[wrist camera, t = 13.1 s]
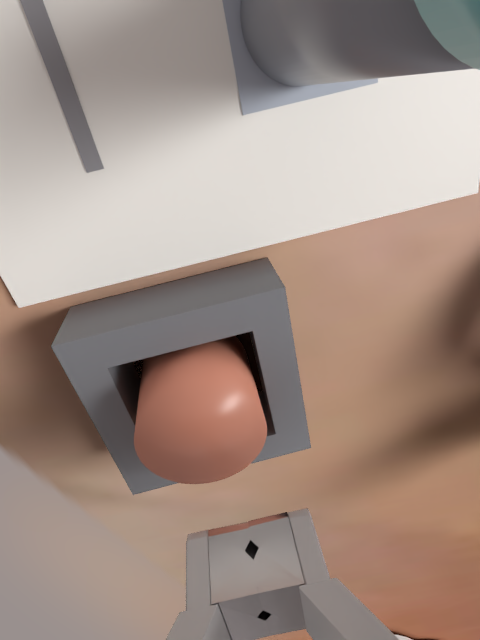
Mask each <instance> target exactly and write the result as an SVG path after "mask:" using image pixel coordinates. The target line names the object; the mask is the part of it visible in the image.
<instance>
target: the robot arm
mask: <svg viewBox="0 0 480 640" xmlns="http://www.w3.org/2000/svg"><path fill="white" fill-rule="evenodd" d="M302 629H306V630H307V632H308V633H309V635H310V636H311V637H312V638H313V640H413V639H410V638H408V637H404V636H400V635H394V634H393V633H392V632H391V631H390V630H389V629H388V628H387V627H386V626H385V625H384V624H383V623H382V622H381V621H380V620H379V619H378V618H377V617H376V616H375V615H374V614H373V613H372V612H371V611H370V610H369V609H368V608H367V607H366V606H365V605H364V604H363V603H362V602H361V601H360V600H359V599H358V598H357V597H356V596H355V595H354V594H353V593H352V592H351V591H350V590H349V589H348V588H347V587H345V586H344V585H343V584H342V583H341V582H340V581H339V580H338V579H337V578H332V579H330V576H329V573H328V570H327V566H326V563H325V560H324V557H323V553H322V550H321V547H320V544H319V540H318V537H317V534H316V530H315V527H314V524H313V521H312V517H311V514H310V512H309V510H308V508H305V509H301V510H296V511H292V512H288V514H287V512H285V513H281V514H277V515H272V516H268V517H264V518H260V519H256V520H251V521H248V522H244V523H240V524H235V525H230V526H225V527H221V528H216V529H211V530H205V531H200V532H196V533H191V534H188V537H187V542H186V611H183V612H180V613H179V615H178V617H177V619H176V621H175V623H174V624H173V627H172V629H171V631H170V632H169V634H168V636H167V638H166V640H255V639H259V638H263V637H266V636H271V635H276V634H281V633H286V632H291V631H297V630H302Z"/></svg>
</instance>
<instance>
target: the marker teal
mask: <svg viewBox="0 0 480 640" xmlns="http://www.w3.org/2000/svg"><path fill="white" fill-rule="evenodd" d="M240 16H241V27H242V33H243V37H244V40H245V43H246V46H247V49H248V51H249V53H250V55H251V57H252V59H253V60H254V62H255V63H256V64H257V66H258V67H259V68H260V69H261V70H262V71H263V72H264V73H265V74H266V75H267V76H268V77H270V78H271V79H273V80H275V81H277V82H279V83H281V84H285V85H288V86H307V85H317V84H327V83H337V82H347V81H356V80H366V79H376V78H386V77H396V76H406V75H416V74H426V73H436V72H446V71H455V70H465V69H478V70H480V0H241V8H240Z"/></svg>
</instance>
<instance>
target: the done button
mask: <svg viewBox="0 0 480 640" xmlns="http://www.w3.org/2000/svg"><path fill="white" fill-rule="evenodd" d="M266 437H267V424H266V420H265V416H264V413H263V409H262V406H261V402H260V399H259V395H258V392H257V388H256V385H255V381H254V378H253V374H252V371H251V367H250V364H249V360H248V357H247V354H246V350H245V348H244V346H243V345H242V343H241V342H240V341H239V339H238V338H237V337H236V336H231V337H227V338H223V339H219V340H215V341H211V342H208V343H204V344H200V345H196V346H192V347H188V348H184V349H180V350H176V351H172V352H168V353H164V354H161V355H157V356H153V357H149V358H145V359H143V365H142V373H141V382H140V390H139V399H138V407H137V416H136V424H135V432H134V446H135V451H136V453H137V456H138V457H139V459H140V461H141V462H142V463H143V464H144V466H145V467H146V468H148V469H149V470H150V471H151V472H153V473H154V474H156V475H158V476H160V477H162V478H164V479H167V480H170V481H174V482H178V483H185V484H203V483H210V482H215V481H219V480H222V479H225V478H227V477H230V476H232V475H234V474H236V473H238V472H240V471H241V470H243V469H244V468H246V467H247V466H248V465H249V464H251V463H252V462H253V461H254V460H255V459H256V457H257V456H258V455H259V453H260V452H261V450H262V448H263V446H264V444H265V441H266Z"/></svg>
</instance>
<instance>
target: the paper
mask: <svg viewBox="0 0 480 640" xmlns="http://www.w3.org/2000/svg"><path fill="white" fill-rule="evenodd" d="M240 8H241V0H0V276H1V278H2V279H3V281H4V283H5V285H6V286H7V288H8V290H9V292H10V293H11V295H12V297H13V299H14V300H15V302H16V304H17V306H18V307H19V308H20V307H24V306H28V305H32V304H36V303H40V302H44V301H48V300H52V299H56V298H60V297H64V296H68V295H72V294H76V293H80V292H84V291H88V290H92V289H96V288H100V287H104V286H108V285H112V284H116V283H120V282H124V281H128V280H132V279H136V278H140V277H144V276H148V275H152V274H156V273H160V272H164V271H168V270H172V269H176V268H180V267H184V266H188V265H192V264H196V263H200V262H204V261H208V260H212V259H216V258H220V257H224V256H228V255H232V254H236V253H240V252H244V251H248V250H252V249H256V248H260V247H264V246H268V245H272V244H276V243H280V242H284V241H288V240H292V239H296V238H300V237H304V236H308V235H312V234H316V233H320V232H324V231H328V230H332V229H336V228H340V227H344V226H348V225H352V224H356V223H360V222H364V221H368V220H372V219H376V218H380V217H384V216H388V215H392V214H396V213H400V212H404V211H408V210H412V209H416V208H420V207H423V206H427V205H431V204H435V203H439V202H443V201H447V200H451V199H455V198H459V197H463V196H467V195H471V194H475V193H478V188H479V179H480V70H478V69H465V70H455V71H446V72H436V73H426V74H416V75H406V76H396V77H386V78H376V79H366V80H356V81H347V82H337V83H327V84H317V85H307V86H288V85H285V84H281V83H279V82H277V81H275V80H273V79H271V78H270V77H268V76H267V75H266V74H265V73H264V72H263V71H262V70H261V69H260V68H259V67H258V66H257V64H256V63H255V62H254V60H253V59H252V57H251V55H250V53H249V51H248V49H247V46H246V43H245V40H244V37H243V33H242V27H241V16H240Z"/></svg>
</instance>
